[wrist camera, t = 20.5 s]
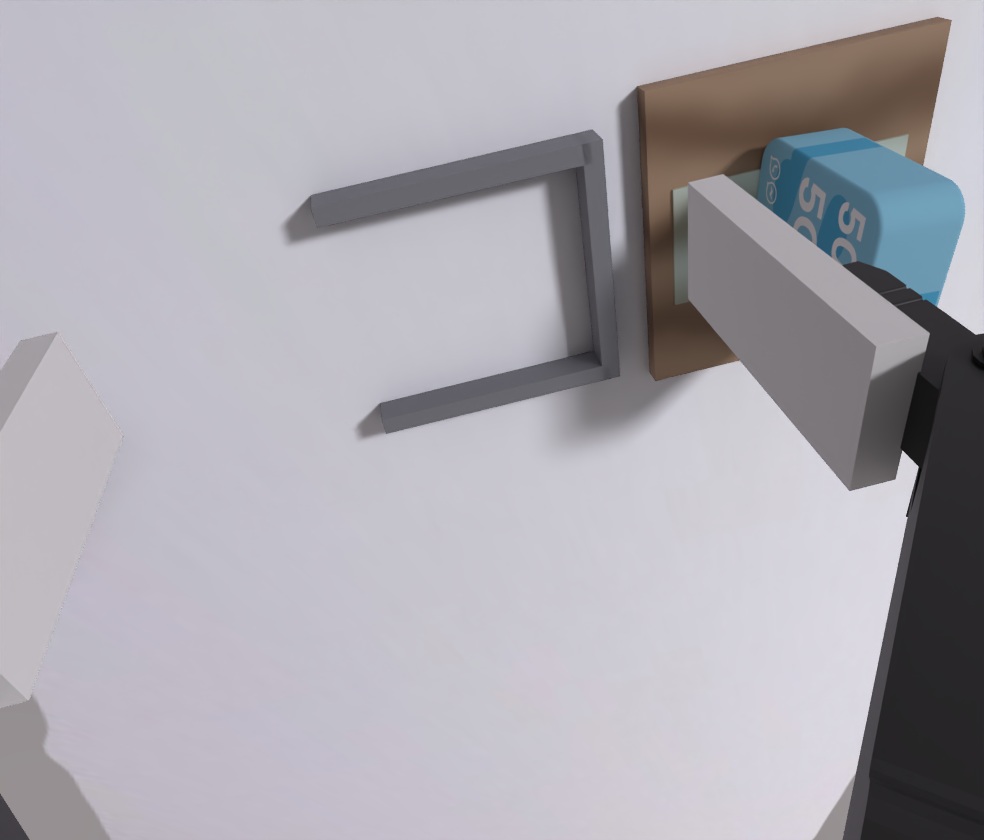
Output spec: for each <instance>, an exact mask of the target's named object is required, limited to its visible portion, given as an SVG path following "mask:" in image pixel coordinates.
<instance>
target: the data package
mask: <svg viewBox="0 0 984 840" xmlns="http://www.w3.org/2000/svg"><path fill="white" fill-rule="evenodd" d="M757 201H759V202H760V203H761V204H763V205H764V206H765V207H767V208H768V209H769V210H770V211H772V212H773V213H774V214H776V215H777V216H778V217H780V218H781V219H782V220H783V221H785V222H786V223H787V224H789V225H790V226H791V227H792V228H794V229H795V230H796V231H798V232H799V233H800V234H802V235H803V236H804V237H805V238H807V239H808V240H809V241H811V242H812V243H813V244H815V245H816V246H817V247H818V248H820V249H821V250H822V251H824V252H825V253H826V254H828V255H829V256H830V257H831V258H833V259H834V260H835V261H837V262H838V263H839V264H840V265H844V264H848V263H852V262H856V261H860V262H862V263H865V264H868V265H871V266H874V267H877V268H880V269H883V270H886V271H888V272H889V273H890V274H892V275H893V276H895V277H896V278H897V279H899V280H900V281H901V282H903V283H904V284H906V287H907V288H911V289H913V290H914V291H915V292H917V293H918V294H920V295H921V296H922V299H923V300H926V299H927V300H928V301H929V302H931V303H932V304H933V305H935V306H936V307H937V305H938V302H939V299H940V295H941V292H942V289H943V286H944V283H945V280H946V276H947V273H948V270H949V267H950V264H951V260H952V257H953V254H954V251H955V248H956V245H957V241H958V238H959V235H960V232H961V229H962V226H963V222H964V217H965V203H964V198H963V195H962V193H961V191H960V189H959V187H958V186H957V185H956V184H955V183H954V182H953V181H952V180H950V179H948V178H946V177H944V176H942V175H940V174H938V173H936V172H934V171H932V170H930V169H928V168H926V167H924V166H922V165H920V164H918V163H916V162H914V161H912V160H910V159H908V158H906V157H904V156H902V155H900V154H898V153H896V152H894V151H892V150H890V149H888V148H886V147H884V146H882V145H880V144H878V143H876V142H874V141H872V140H870V139H868V138H866V137H864V136H862V135H860V134H858V133H856V132H854V131H852V130H850V129H848V128H839V129H832V130H826V131H819V132H813V133H807V134H800V135H794V136H787V137H781V138H776V139H773V140H772V141H771V142H770V143H769V144H768V145H767V147H766V148H765V151H764V154H763V157H762V164H761V171H760V179H759V186H758V194H757Z"/></svg>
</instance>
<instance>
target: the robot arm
mask: <svg viewBox="0 0 984 840" xmlns="http://www.w3.org/2000/svg"><path fill="white" fill-rule="evenodd" d="M688 299H689V300H690V302H691V303H692V304H693V305H694V306H695V308H696V309H697V310H698V311H699V312H700V313H701V315H702V316H703V317H704V318H705V319H706V321H707V322H708V323H709V324H710V325H711V327H712V328H713V329H714V330H715V331H716V333H717V334H718V335H719V336H720V337H721V338H722V340H723V341H724V342H725V343H726V344H727V346H728V347H729V348H730V349H731V350H732V352H733V353H734V354H735V355H736V356H737V358H738V359H739V360H740V361H741V362H742V363H743V365H744V366H745V367H746V368H747V369H748V371H749V372H750V373H751V374H752V375H753V377H754V378H755V379H756V380H757V381H758V383H759V384H760V385H761V386H762V387H763V389H764V390H765V391H766V392H767V393H768V394H769V396H770V397H771V398H772V399H773V400H774V402H775V403H776V404H777V405H778V406H779V408H780V409H781V410H782V411H783V412H784V414H785V415H786V416H787V417H788V418H789V419H790V421H791V422H792V423H793V424H794V425H795V427H796V428H797V429H798V430H799V431H800V433H801V434H802V435H803V436H804V437H805V439H806V440H807V441H808V442H809V443H810V444H811V446H812V447H813V448H814V449H815V450H816V452H817V453H818V454H819V455H820V456H821V458H822V459H823V460H824V461H825V462H826V464H827V465H828V466H829V467H830V468H831V469H832V471H833V472H834V473H835V474H836V475H837V477H838V478H839V479H840V480H841V481H842V483H843V484H844V485H845V486H846V487H847V489H848V490H849V491H852V490H855V489H859V488H863V487H867V486H871V485H875V484H879V483H883V482H887V481H891V480H895V479H896V474H897V470H898V466H899V462H900V457H901V453H902V450H903V451H904V452H905V453H906V454H907V455H908V456H909V457H910V458H911V459H912V460H913V461H914V462H915V463H916V464H917V465H918V466H919V468H918V472H917V476H916V480H915V484H914V487H913V491H912V495H911V499H910V503H909V507H908V511H907V514H906V517H908V519H907V524H906V528H905V533H904V538H903V543H902V548H901V553H900V558H899V563H898V568H897V573H896V578H895V583H894V588H893V593H892V598H891V603H890V608H889V613H888V618H887V623H886V628H885V632H884V637H883V642H882V647H881V652H880V657H879V662H878V667H877V672H876V677H875V682H874V687H873V692H872V697H871V702H870V707H869V712H868V717H867V722H866V727H865V732H864V737H863V741H862V746H861V751H860V756H859V761H858V766H857V771H856V776H855V782H854V787H853V791H852V796H851V801H850V806H849V811H848V816H847V821H846V826H845V831H844V836H843V840H984V334H978V335H975V334H974V333H972V332H971V331H970V330H968V329H967V328H965V327H964V326H963V325H961V324H960V323H959V322H957V321H956V320H954V319H953V318H952V317H950V316H949V315H947V314H946V313H945V312H943V311H942V310H940V309H939V308H938V307H936V306H935V305H933V304H932V303H931V302H929V301H928V300H927V299H926V300H923V299H922V296H921V295H920V294H918V293H917V292H915V291H914V290H913V289H911V288H907V287H906V284H904V283H903V282H901V281H900V280H899V279H897V278H896V277H895V276H893V275H892V274H890V273H889V272H888V271H886V270H883V269H880V268H877V267H874V266H871V265H868V264H865V263H862V262H860V261H856V262H852V263H848V264H844V265H840V264H839V263H838V262H837V261H835V260H834V259H833V258H831V257H830V256H829V255H828V254H826V253H825V252H824V251H822V250H821V249H820V248H818V247H817V246H816V245H815V244H813V243H812V242H811V241H809V240H808V239H807V238H805V237H804V236H803V235H802V234H800V233H799V232H798V231H796V230H795V229H794V228H792V227H791V226H790V225H789V224H787V223H786V222H785V221H783V220H782V219H781V218H780V217H778V216H777V215H776V214H774V213H773V212H772V211H770V210H769V209H768V208H767V207H765V206H764V205H763V204H761V203H760V202H759V201H757V200H756V199H755V198H754V197H752V196H751V195H750V194H748V193H747V192H746V191H744V190H743V189H742V188H741V187H739V186H738V185H737V184H735V183H734V182H733V181H732V180H730V179H729V178H728V177H726V176H725V175H724V174H722V175H717V176H713V177H709V178H705V179H700V180H696V181H692V182H688ZM122 439H123V434H122V433H121V431H120V429H119V428H118V426H117V425H116V423H115V422H114V420H113V418H112V417H111V415H110V414H109V412H108V410H107V409H106V407H105V406H104V404H103V402H102V401H101V399H100V398H99V396H98V394H97V393H96V391H95V390H94V388H93V386H92V385H91V383H90V382H89V380H88V378H87V377H86V375H85V374H84V372H83V370H82V369H81V367H80V366H79V364H78V362H77V361H76V359H75V358H74V356H73V354H72V353H71V351H70V350H69V348H68V346H67V345H66V343H65V342H64V340H63V338H62V337H61V335H60V334H59V332H55V333H51V334H47V335H42V336H38V337H34V338H30V339H25V340H21V341H20V342H19V343H18V345H17V346H16V348H15V350H14V351H13V353H12V354H11V356H10V357H9V359H8V360H7V362H6V363H5V365H4V366H3V368H2V370H1V371H0V708H3V707H7V706H11V705H15V704H18V703H22V702H27V701H29V699H30V696H31V693H32V690H33V687H34V685H35V682H36V679H37V676H38V673H39V671H40V668H41V665H42V662H43V659H44V657H45V654H46V651H47V648H48V646H49V643H50V640H51V637H52V634H53V632H54V629H55V626H56V623H57V620H58V618H59V615H60V612H61V609H62V606H63V604H64V601H65V598H66V595H67V593H68V590H69V587H70V584H71V581H72V579H73V576H74V573H75V570H76V567H77V565H78V562H79V559H80V556H81V553H82V551H83V548H84V545H85V542H86V540H87V537H88V534H89V531H90V528H91V526H92V523H93V520H94V517H95V514H96V512H97V509H98V506H99V503H100V500H101V498H102V495H103V492H104V489H105V487H106V484H107V481H108V478H109V475H110V473H111V470H112V467H113V464H114V461H115V459H116V456H117V453H118V450H119V447H120V445H121V442H122ZM0 840H29V838H28V837H27V835H26V833H25V832H24V830H23V829H22V827H21V826H20V824H19V822H18V821H17V819H16V818H15V816H14V815H13V813H12V812H11V810H10V808H9V807H8V805H7V804H6V802H5V801H4V799H3V797H2V796H1V794H0Z"/></svg>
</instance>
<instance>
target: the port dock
mask: <svg viewBox="0 0 984 840" xmlns="http://www.w3.org/2000/svg"><path fill="white" fill-rule="evenodd" d="M951 21H952V20H948V19H944V18H940V17H935V18H931V19H927V20H922V21H918V22H914V23H909V24H905V25H901V26H896V27H892V28H888V29H883V30H879V31H875V32H870V33H866V34H862V35H858V36H853V37H849V38H845V39H840V40H836V41H832V42H827V43H823V44H819V45H814V46H810V47H806V48H801V49H797V50H793V51H788V52H784V53H780V54H775V55H771V56H767V57H762V58H758V59H754V60H749V61H745V62H741V63H736V64H732V65H728V66H723V67H719V68H715V69H710V70H706V71H702V72H698V73H693V74H689V75H685V76H680V77H676V78H672V79H667V80H663V81H659V82H654V83H650V84H646V85H641V86H637V87H638V110H639V134H640V157H641V180H642V204H643V227H644V250H645V274H646V297H647V320H648V344H649V367H650V373H651V375H652V376H653V378H654V379H655V381H657V380H661V379H665V378H670V377H674V376H678V375H682V374H686V373H690V372H694V371H698V370H702V369H706V368H710V367H714V366H718V365H722V364H726V363H730V362H734V361H738V360H739V359H738V358H737V356H736V355H735V354H734V353H733V352H732V350H731V349H730V348H729V347H728V346H727V344H726V343H725V342H724V341H723V340H722V338H721V337H720V336H719V335H718V334H717V333H716V331H715V330H714V329H713V328H712V327H711V325H710V324H709V323H708V322H707V321H706V319H705V318H704V317H703V316H702V315H701V313H700V312H699V311H698V310H697V309H696V308H695V306H694V305H693V304H692V303H691V302H690V300H689V299H688V182H692V181H696V180H700V179H705V178H709V177H713V176H717V175H722V174H724V175H725V176H726V177H728V178H729V179H730V180H732V181H733V182H734V183H735V184H737V185H738V186H739V187H741V188H742V189H743V190H744V191H746V192H747V193H748V194H750V195H751V196H752V197H754V198H755V199H756V200H757V194H758V186H759V179H760V171H761V164H762V157H763V154H764V151H765V148H766V147H767V145H768V144H769V143H770V142H771V141H772V140H773V139H776V138H781V137H787V136H794V135H800V134H807V133H813V132H819V131H826V130H832V129H839V128H848V129H850V130H852V131H854V132H856V133H858V134H860V135H862V136H864V137H866V138H868V139H870V140H872V141H874V142H876V143H878V144H880V145H882V146H884V147H886V148H888V149H890V150H892V151H894V152H896V153H898V154H900V155H902V156H904V157H906V158H908V159H910V160H912V161H914V162H916V163H918V164H920V165H922V166H923V163H924V158H925V153H926V148H927V143H928V138H929V133H930V128H931V123H932V118H933V112H934V107H935V102H936V97H937V92H938V87H939V82H940V77H941V72H942V67H943V62H944V57H945V52H946V46H947V41H948V36H949V31H950V26H951Z"/></svg>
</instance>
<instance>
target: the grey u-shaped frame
mask: <svg viewBox="0 0 984 840" xmlns="http://www.w3.org/2000/svg"><path fill="white" fill-rule="evenodd" d="M575 167H576V174H577V184H578V195H579V205H580V215H581V225H582V235H583V245H584V256H585V266H586V276H587V286H588V296H589V306H590V317H591V327H592V337H593V347H594V351H592V352H588V353H584V354H580V355H576V356H572V357H568V358H563V359H559V360H555V361H551V362H547V363H543V364H539V365H535V366H531V367H527V368H523V369H519V370H514V371H510V372H506V373H502V374H498V375H494V376H490V377H486V378H482V379H478V380H474V381H470V382H465V383H461V384H457V385H453V386H449V387H445V388H441V389H437V390H433V391H429V392H425V393H421V394H416V395H412V396H408V397H404V398H400V399H396V400H392V401H388V402H384V403H380V407H381V417H382V422H383V425H384V428H385V431H386V434H387V433H391V432H395V431H399V430H403V429H407V428H411V427H415V426H420V425H424V424H428V423H432V422H436V421H440V420H444V419H448V418H452V417H456V416H460V415H464V414H468V413H472V412H476V411H480V410H484V409H489V408H493V407H497V406H501V405H505V404H509V403H513V402H517V401H521V400H525V399H529V398H533V397H537V396H541V395H545V394H549V393H553V392H557V391H562V390H566V389H570V388H574V387H578V386H582V385H586V384H590V383H594V382H598V381H602V380H606V379H610V378H614V377H618V376H620V368H619V355H618V341H617V327H616V314H615V300H614V287H613V273H612V260H611V246H610V232H609V219H608V205H607V192H606V178H605V165H604V151H603V139H602V138H601V137H600V136H599V135H597V134H596V133H595V132H594V131H593V130H589V131H584V132H580V133H576V134H571V135H567V136H563V137H559V138H554V139H550V140H546V141H541V142H537V143H533V144H529V145H524V146H520V147H516V148H511V149H507V150H503V151H499V152H494V153H490V154H486V155H481V156H477V157H473V158H468V159H464V160H460V161H456V162H451V163H447V164H443V165H438V166H434V167H430V168H426V169H421V170H417V171H413V172H408V173H404V174H400V175H396V176H391V177H387V178H383V179H378V180H374V181H370V182H365V183H361V184H357V185H353V186H348V187H344V188H340V189H335V190H331V191H327V192H323V193H318V194H314V195H311V211H312V214H313V217H314V219H315V222H316V225H317V228H320V227H324V226H328V225H333V224H337V223H341V222H345V221H350V220H354V219H358V218H362V217H367V216H371V215H375V214H380V213H384V212H388V211H392V210H397V209H401V208H405V207H409V206H414V205H418V204H422V203H426V202H431V201H435V200H439V199H443V198H448V197H452V196H456V195H460V194H465V193H469V192H473V191H477V190H482V189H486V188H490V187H495V186H499V185H503V184H507V183H512V182H516V181H520V180H524V179H529V178H533V177H537V176H541V175H546V174H550V173H554V172H558V171H563V170H567V169H571V168H575Z"/></svg>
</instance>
